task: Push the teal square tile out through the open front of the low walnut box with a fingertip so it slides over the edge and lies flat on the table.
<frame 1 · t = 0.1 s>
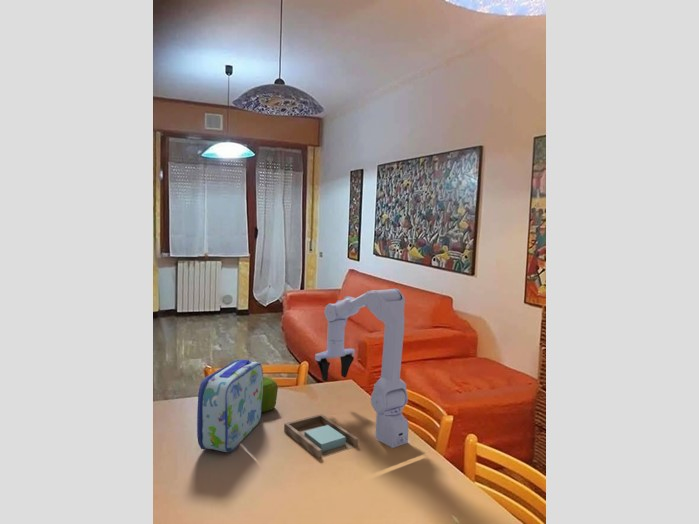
hand: (334, 378, 158), 10 cm above the table, tool pointing down, fingers open, 7 cm apart
teal square tile: (324, 441, 133), point 1 cm above the table, touching box
lunch box: (232, 436, 136), on the table
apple: (260, 409, 155), on the table
box: (319, 440, 135), on the table
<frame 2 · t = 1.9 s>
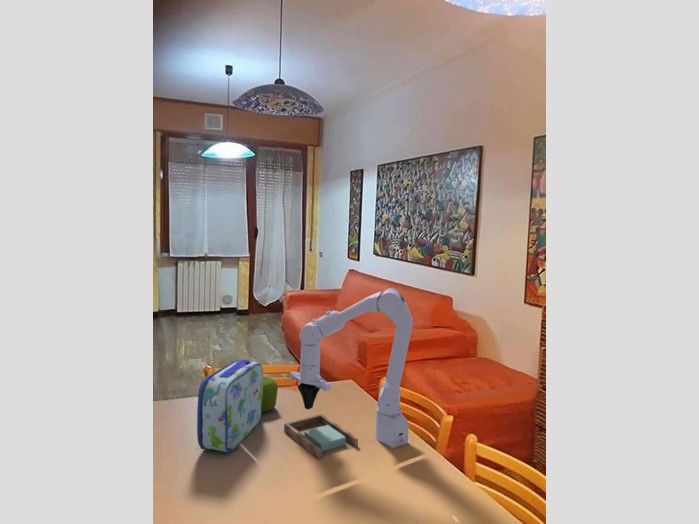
hand: (308, 408, 139), 7 cm above the table, tool pointing down, fingers closed
nothing on the table moved.
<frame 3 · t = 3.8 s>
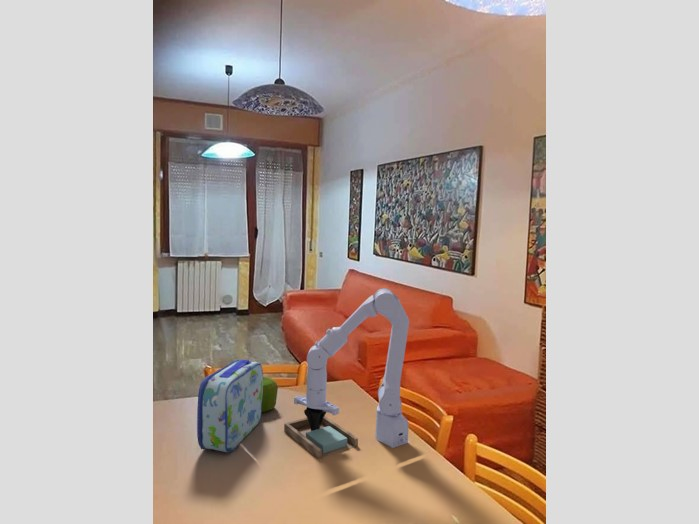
hand: (315, 432, 137), 1 cm above the table, tool pointing down, fingers closed
teal square tile: (326, 442, 132), point 1 cm above the table, touching box, gripper
everything else where it was.
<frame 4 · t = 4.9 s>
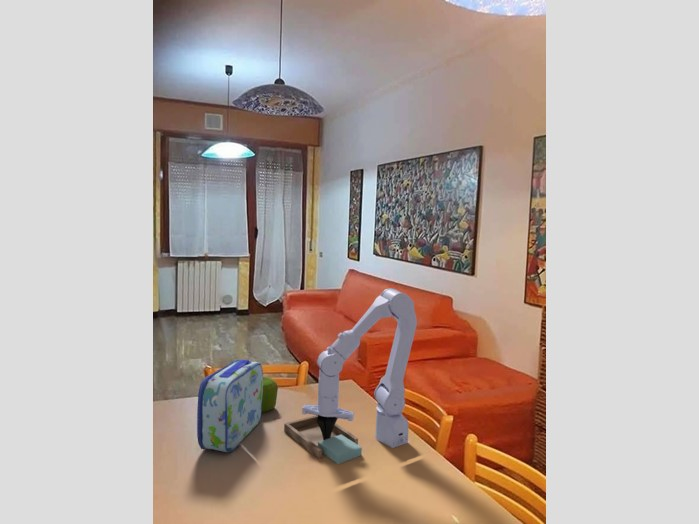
hand: (326, 441, 132), 1 cm above the table, tool pointing down, fingers closed
teal square tile: (339, 452, 127), point 1 cm above the table, touching gripper
everything else where it was.
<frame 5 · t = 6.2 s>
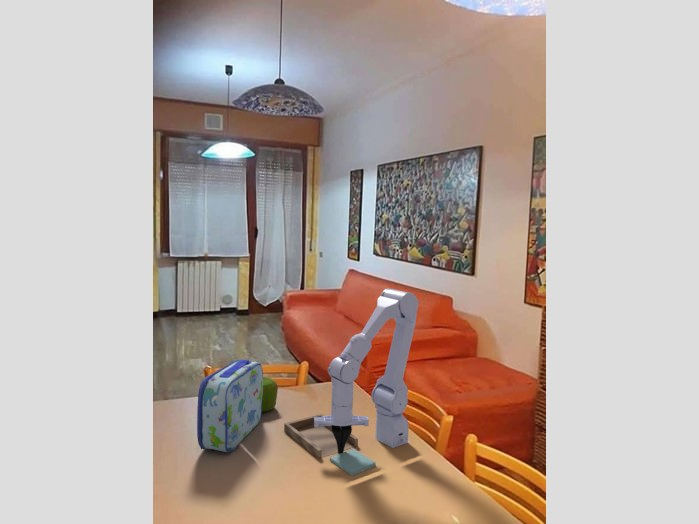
hand: (340, 451, 126), 1 cm above the table, tool pointing down, fingers closed
teal square tile: (352, 468, 122), on the table
everything else where it was.
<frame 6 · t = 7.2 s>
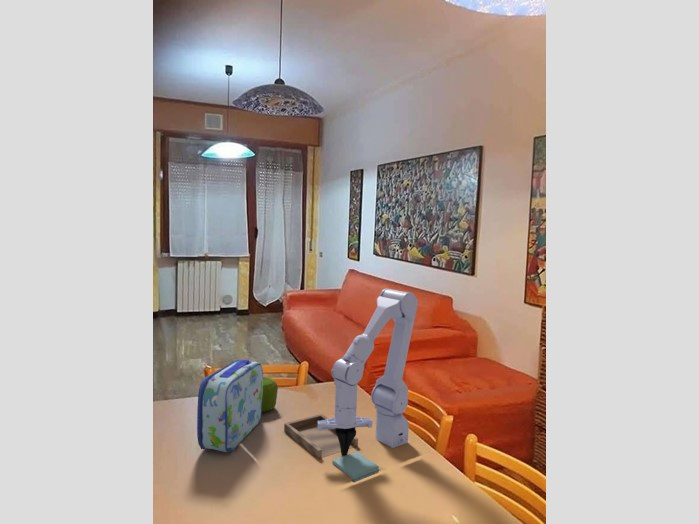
hand: (344, 453, 125), 1 cm above the table, tool pointing down, fingers closed
teal square tile: (355, 471, 120), on the table
everything else where it was.
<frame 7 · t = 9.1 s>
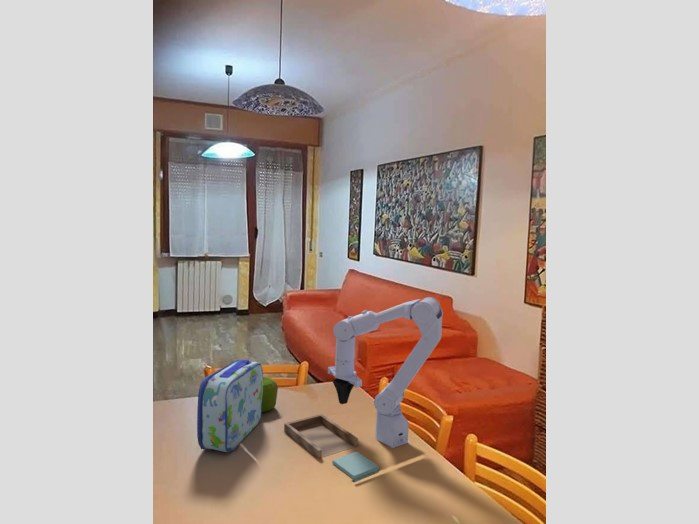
hand: (343, 403, 141), 8 cm above the table, tool pointing down, fingers closed
nothing on the table moved.
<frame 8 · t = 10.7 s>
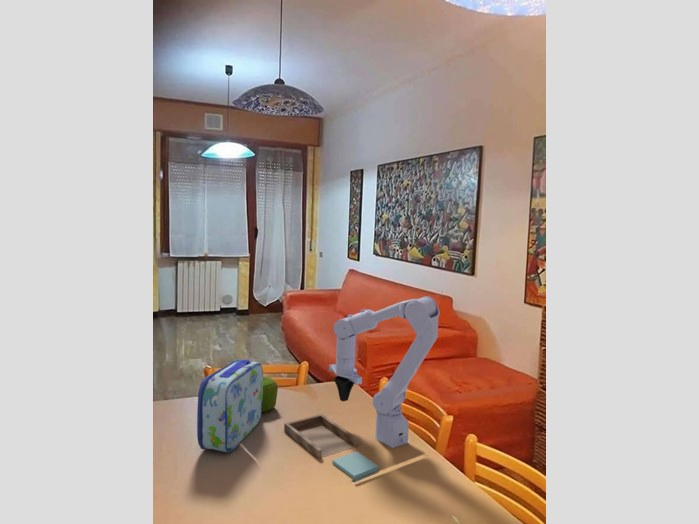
hand: (344, 400, 144), 8 cm above the table, tool pointing down, fingers closed
nothing on the table moved.
at the end: teal square tile inside the target area (0.7 cm from its centre), on the table; teal square tile touching table; teal square tile tilted 0° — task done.
